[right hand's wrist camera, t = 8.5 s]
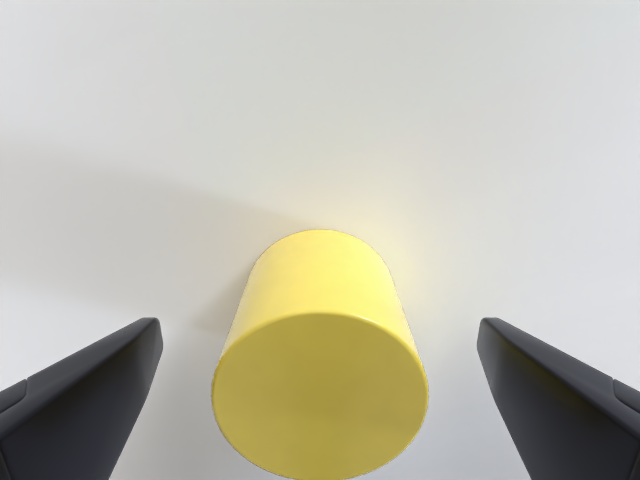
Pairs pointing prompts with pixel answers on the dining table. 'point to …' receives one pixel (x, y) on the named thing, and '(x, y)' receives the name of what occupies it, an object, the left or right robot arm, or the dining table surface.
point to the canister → (319, 362)
